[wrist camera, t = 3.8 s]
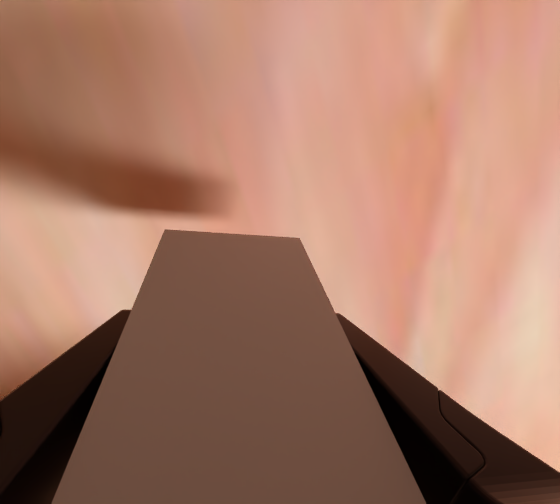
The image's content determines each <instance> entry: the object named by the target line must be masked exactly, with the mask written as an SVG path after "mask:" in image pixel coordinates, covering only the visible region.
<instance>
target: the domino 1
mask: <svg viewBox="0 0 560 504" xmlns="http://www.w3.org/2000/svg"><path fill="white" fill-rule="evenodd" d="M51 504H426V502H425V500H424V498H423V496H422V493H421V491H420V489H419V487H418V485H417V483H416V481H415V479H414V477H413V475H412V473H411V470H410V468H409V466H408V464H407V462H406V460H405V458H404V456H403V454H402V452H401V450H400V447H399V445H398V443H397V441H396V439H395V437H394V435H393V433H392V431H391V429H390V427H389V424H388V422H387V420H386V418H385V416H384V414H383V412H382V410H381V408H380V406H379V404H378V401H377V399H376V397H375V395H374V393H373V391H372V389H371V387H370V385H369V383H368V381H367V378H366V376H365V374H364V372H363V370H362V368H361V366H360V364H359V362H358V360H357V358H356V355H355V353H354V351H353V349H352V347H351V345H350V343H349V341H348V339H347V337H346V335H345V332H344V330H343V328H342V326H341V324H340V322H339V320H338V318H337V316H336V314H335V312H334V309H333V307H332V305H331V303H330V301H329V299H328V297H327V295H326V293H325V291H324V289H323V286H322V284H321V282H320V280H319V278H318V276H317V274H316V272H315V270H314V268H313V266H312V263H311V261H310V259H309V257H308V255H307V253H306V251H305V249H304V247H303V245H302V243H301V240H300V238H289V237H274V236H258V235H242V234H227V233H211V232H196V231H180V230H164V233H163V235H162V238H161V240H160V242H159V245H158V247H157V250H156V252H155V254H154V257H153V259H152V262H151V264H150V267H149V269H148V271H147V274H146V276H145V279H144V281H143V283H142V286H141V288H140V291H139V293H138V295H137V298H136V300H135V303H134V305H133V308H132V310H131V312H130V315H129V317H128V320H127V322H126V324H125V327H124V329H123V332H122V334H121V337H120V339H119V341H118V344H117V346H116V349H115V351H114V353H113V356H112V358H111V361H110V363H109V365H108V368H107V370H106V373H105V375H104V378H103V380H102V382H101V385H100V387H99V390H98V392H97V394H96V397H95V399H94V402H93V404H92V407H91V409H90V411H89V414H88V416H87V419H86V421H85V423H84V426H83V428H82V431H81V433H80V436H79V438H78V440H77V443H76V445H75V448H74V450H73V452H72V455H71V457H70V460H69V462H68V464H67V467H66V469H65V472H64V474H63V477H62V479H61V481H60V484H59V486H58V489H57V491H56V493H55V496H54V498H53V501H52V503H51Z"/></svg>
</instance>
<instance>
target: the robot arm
mask: <svg viewBox="0 0 560 504" xmlns="http://www.w3.org/2000/svg"><path fill="white" fill-rule="evenodd" d="M130 312H131V310H121V311H120V312H118V313H117V314H116V315H114V316H113V317H112V318H110V319H109V320H108V321H106V322H105V323H104V324H102V325H101V326H100V327H98V328H97V329H96V330H94V331H93V332H92V333H90V334H89V335H88V336H86V337H85V338H83V339H82V340H81V341H79V342H78V343H77V344H75V345H74V346H73V347H71V348H70V349H69V350H67V351H66V352H65V353H63V354H62V355H61V356H59V357H58V358H57V359H55V360H54V361H53V362H51V363H50V364H49V365H47V366H46V367H45V368H43V369H42V370H41V371H39V372H38V373H36V374H35V375H34V376H32V377H31V378H30V379H28V380H27V381H26V382H24V383H23V384H22V385H20V386H19V387H18V388H16V389H15V390H14V391H12V392H11V393H10V394H8V395H7V396H6V397H4V398H3V399H2V400H0V504H51V503H52V501H53V498H54V496H55V493H56V491H57V489H58V486H59V484H60V481H61V479H62V477H63V474H64V472H65V469H66V467H67V464H68V462H69V460H70V457H71V455H72V452H73V450H74V448H75V445H76V443H77V440H78V438H79V436H80V433H81V431H82V428H83V426H84V423H85V421H86V419H87V416H88V414H89V411H90V409H91V407H92V404H93V402H94V399H95V397H96V394H97V392H98V390H99V387H100V385H101V382H102V380H103V378H104V375H105V373H106V370H107V368H108V365H109V363H110V361H111V358H112V356H113V353H114V351H115V349H116V346H117V344H118V341H119V339H120V337H121V334H122V332H123V329H124V327H125V324H126V322H127V320H128V317H129V315H130ZM335 314H336V316H337V318H338V320H339V322H340V324H341V326H342V328H343V330H344V332H345V335H346V337H347V339H348V341H349V343H350V345H351V347H352V349H353V351H354V353H355V355H356V358H357V360H358V362H359V364H360V366H361V368H362V370H363V372H364V374H365V376H366V378H367V381H368V383H369V385H370V387H371V389H372V391H373V393H374V395H375V397H376V399H377V401H378V404H379V406H380V408H381V410H382V412H383V414H384V416H385V418H386V420H387V422H388V424H389V427H390V429H391V431H392V433H393V435H394V437H395V439H396V441H397V443H398V445H399V447H400V450H401V452H402V454H403V456H404V458H405V460H406V462H407V464H408V466H409V468H410V470H411V473H412V475H413V477H414V479H415V481H416V483H417V485H418V487H419V489H420V491H421V493H422V496H423V498H424V500H425V502H426V504H560V472H558V471H556V470H555V469H553V468H552V467H550V466H549V465H547V464H546V463H544V462H543V461H541V460H540V459H538V458H537V457H535V456H534V455H532V454H531V453H529V452H528V451H526V450H525V449H523V448H522V447H521V446H519V445H518V444H516V443H515V442H513V441H512V440H510V439H509V438H507V437H506V436H504V435H503V434H501V433H500V432H498V431H497V430H495V429H494V428H492V427H491V426H489V425H488V424H486V423H485V422H483V421H482V420H481V419H479V418H478V417H476V416H475V415H473V414H472V413H471V412H469V411H468V410H466V409H465V408H464V407H462V406H461V405H460V404H458V403H457V402H456V401H454V400H453V399H452V398H450V397H449V396H448V395H446V394H445V393H444V392H442V391H441V390H439V391H438V388H437V387H436V386H434V385H433V384H432V383H430V382H429V381H428V380H426V379H425V378H424V377H422V376H421V375H420V374H419V373H417V372H416V371H415V370H413V369H412V368H411V367H409V366H408V365H407V364H405V363H404V362H403V361H401V360H400V359H399V358H397V357H396V356H395V355H394V354H392V353H391V352H390V351H388V350H387V349H386V348H384V347H383V346H382V345H380V344H379V343H378V342H376V341H375V340H374V339H372V338H371V337H370V336H369V335H367V334H366V333H365V332H363V331H362V330H361V329H359V328H358V327H357V326H355V325H354V324H353V323H351V322H350V321H349V320H347V319H346V318H345V317H344V316H342V315H341V314H339V313H335Z"/></svg>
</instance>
